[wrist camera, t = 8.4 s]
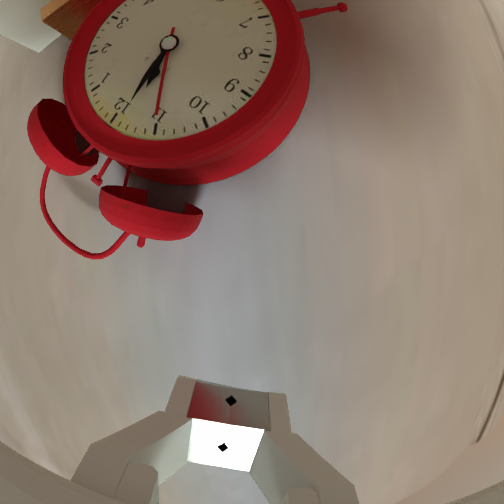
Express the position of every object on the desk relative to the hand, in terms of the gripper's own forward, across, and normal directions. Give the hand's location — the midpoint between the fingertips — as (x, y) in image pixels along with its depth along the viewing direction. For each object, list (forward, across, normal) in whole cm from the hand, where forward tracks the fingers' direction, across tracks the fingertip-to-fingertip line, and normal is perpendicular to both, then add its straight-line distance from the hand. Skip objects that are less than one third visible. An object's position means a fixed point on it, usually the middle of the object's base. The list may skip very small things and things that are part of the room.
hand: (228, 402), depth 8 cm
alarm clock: (+7, +5, -9) cm, 12 cm away
